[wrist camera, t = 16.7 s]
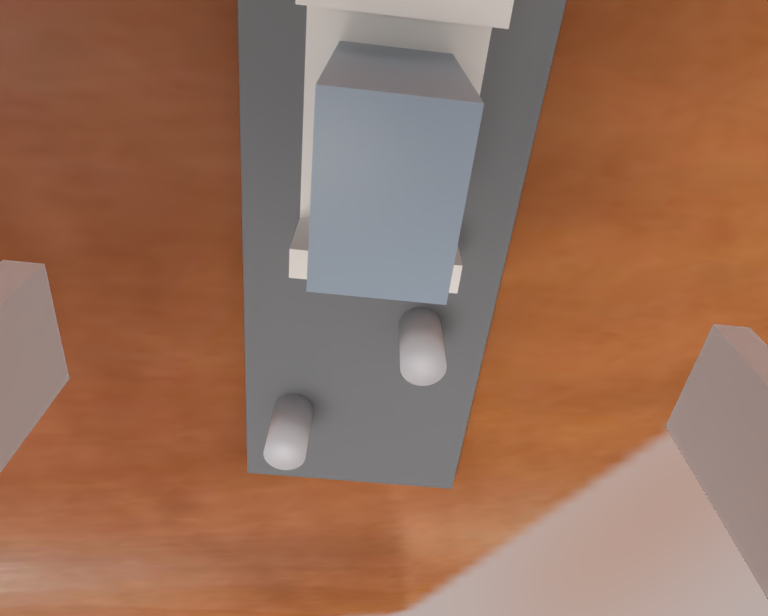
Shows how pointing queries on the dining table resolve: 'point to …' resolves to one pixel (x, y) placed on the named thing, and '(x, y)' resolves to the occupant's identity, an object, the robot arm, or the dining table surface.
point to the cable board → (362, 314)
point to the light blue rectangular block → (389, 172)
